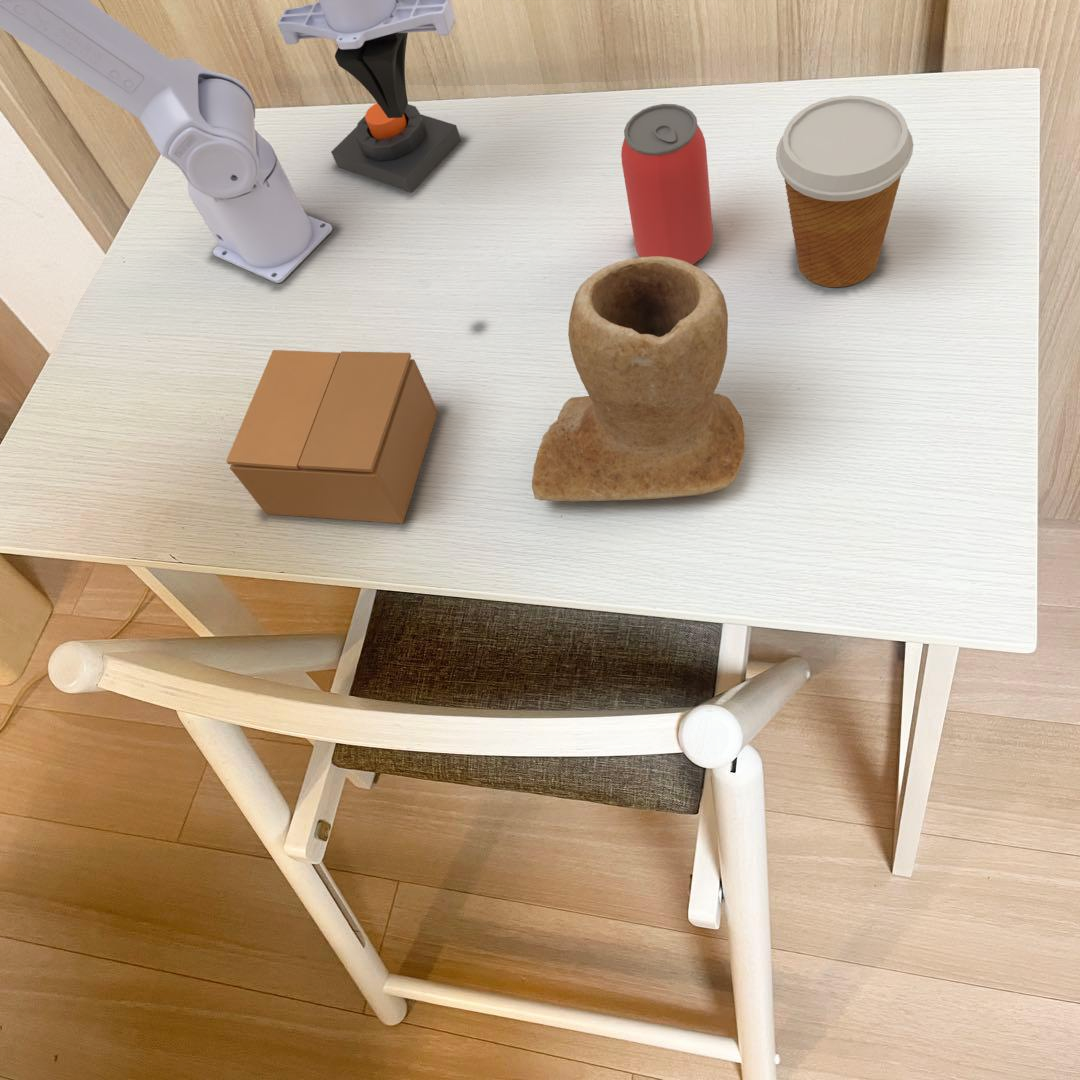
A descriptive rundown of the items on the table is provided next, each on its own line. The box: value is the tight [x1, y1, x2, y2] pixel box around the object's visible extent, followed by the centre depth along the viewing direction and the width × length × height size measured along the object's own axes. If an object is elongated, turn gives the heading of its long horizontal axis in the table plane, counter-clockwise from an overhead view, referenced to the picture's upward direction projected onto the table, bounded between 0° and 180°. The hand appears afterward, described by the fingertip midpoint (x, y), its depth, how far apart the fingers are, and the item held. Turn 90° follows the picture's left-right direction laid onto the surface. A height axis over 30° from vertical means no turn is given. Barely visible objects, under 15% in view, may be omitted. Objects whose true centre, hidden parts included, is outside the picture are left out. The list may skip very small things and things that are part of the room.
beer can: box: [620, 103, 714, 265], centre depth 83 cm, size 7×7×12 cm
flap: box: [225, 349, 341, 469], centre depth 78 cm, size 6×11×1 cm, turn 168°
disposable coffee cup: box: [775, 95, 914, 288], centre depth 78 cm, size 10×10×12 cm
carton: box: [229, 350, 439, 525], centre depth 80 cm, size 12×11×7 cm
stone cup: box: [531, 256, 746, 502], centre depth 71 cm, size 15×12×15 cm
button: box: [364, 102, 407, 139], centre depth 99 cm, size 4×4×2 cm
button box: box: [330, 103, 462, 194], centre depth 101 cm, size 10×8×4 cm
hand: (397, 110), depth 89 cm, fingers closed
